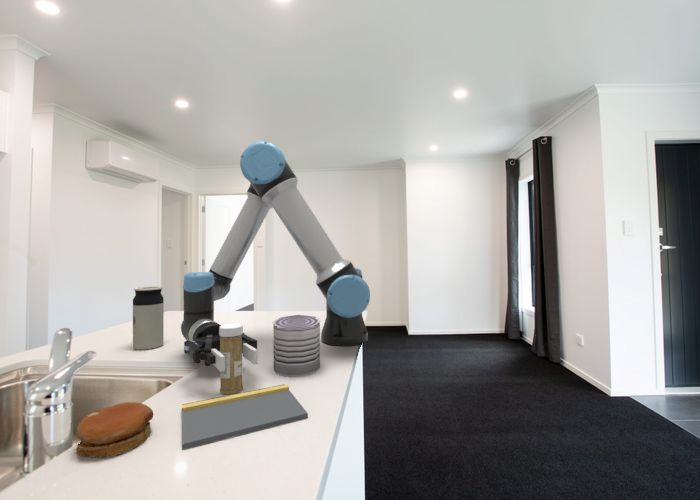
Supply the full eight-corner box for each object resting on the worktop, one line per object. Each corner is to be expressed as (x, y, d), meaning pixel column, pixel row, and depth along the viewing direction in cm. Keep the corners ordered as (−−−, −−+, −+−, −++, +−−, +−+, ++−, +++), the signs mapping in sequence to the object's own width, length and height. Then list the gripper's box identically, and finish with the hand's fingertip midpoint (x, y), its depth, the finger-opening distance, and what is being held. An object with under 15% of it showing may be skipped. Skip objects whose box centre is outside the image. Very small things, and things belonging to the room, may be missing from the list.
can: (325, 362, 84) (325, 315, 84) (311, 379, 73) (311, 325, 73) (284, 359, 86) (284, 314, 86) (264, 375, 75) (264, 323, 75)
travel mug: (165, 342, 104) (165, 286, 105) (160, 348, 97) (160, 288, 97) (136, 344, 101) (136, 287, 102) (129, 351, 94) (129, 289, 94)
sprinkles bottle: (245, 391, 66) (245, 325, 66) (222, 397, 64) (222, 328, 64) (239, 384, 70) (239, 321, 70) (216, 389, 67) (216, 324, 67)
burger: (142, 453, 46) (142, 420, 46) (61, 468, 43) (61, 432, 43) (159, 420, 55) (158, 392, 55) (93, 430, 52) (93, 401, 52)
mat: (284, 388, 68) (284, 381, 68) (307, 417, 55) (307, 409, 55) (182, 408, 59) (182, 400, 59) (182, 449, 47) (182, 439, 47)
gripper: (245, 345, 87) (284, 369, 68) (165, 359, 75) (186, 392, 57) (245, 316, 87) (284, 333, 68) (165, 326, 75) (186, 350, 57)
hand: (239, 360), depth 63 cm, fingers open, 6 cm apart
